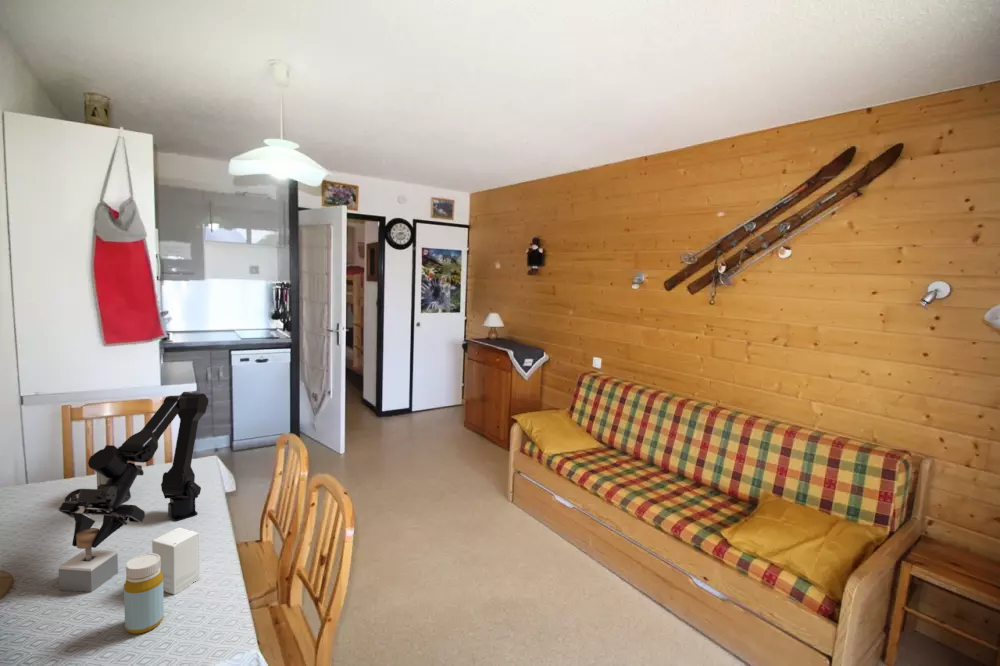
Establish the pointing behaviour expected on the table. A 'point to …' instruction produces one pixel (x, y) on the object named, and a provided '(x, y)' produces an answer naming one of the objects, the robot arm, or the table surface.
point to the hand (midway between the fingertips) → (83, 546)
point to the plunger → (86, 541)
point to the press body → (88, 570)
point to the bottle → (143, 593)
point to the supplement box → (178, 558)
